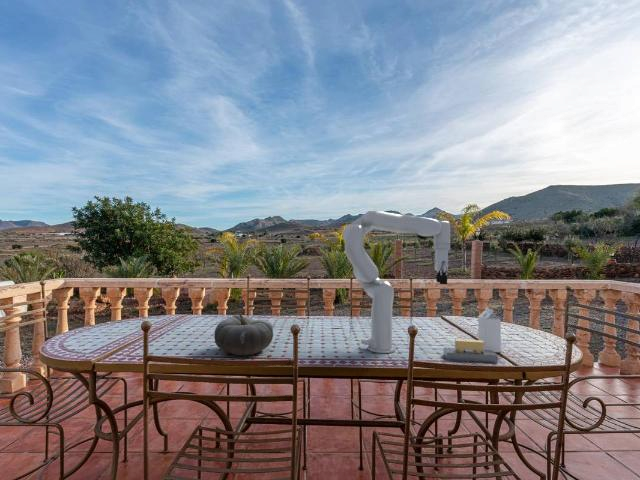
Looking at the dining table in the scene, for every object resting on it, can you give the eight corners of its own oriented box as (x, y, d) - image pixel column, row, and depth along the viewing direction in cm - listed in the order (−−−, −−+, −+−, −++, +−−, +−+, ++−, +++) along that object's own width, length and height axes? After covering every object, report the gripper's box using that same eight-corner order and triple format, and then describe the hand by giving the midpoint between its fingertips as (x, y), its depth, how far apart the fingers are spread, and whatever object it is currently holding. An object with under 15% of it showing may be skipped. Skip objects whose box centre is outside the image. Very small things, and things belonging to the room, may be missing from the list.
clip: (456, 358, 156) (456, 340, 156) (455, 356, 159) (455, 339, 159) (483, 360, 154) (483, 342, 154) (482, 358, 157) (482, 340, 157)
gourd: (228, 336, 179) (233, 302, 177) (277, 348, 174) (282, 313, 173) (202, 356, 154) (207, 316, 152) (258, 370, 150) (264, 330, 148)
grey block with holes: (446, 359, 154) (446, 352, 154) (443, 354, 162) (443, 347, 162) (497, 362, 151) (497, 355, 151) (491, 357, 159) (491, 350, 159)
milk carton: (492, 348, 173) (492, 307, 173) (500, 352, 166) (500, 310, 166) (478, 348, 173) (478, 307, 173) (485, 352, 166) (485, 310, 166)
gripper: (431, 247, 184) (431, 281, 184) (436, 246, 167) (436, 284, 166) (446, 247, 183) (446, 281, 182) (453, 247, 166) (453, 285, 165)
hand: (441, 283), depth 174 cm, fingers open, 9 cm apart
